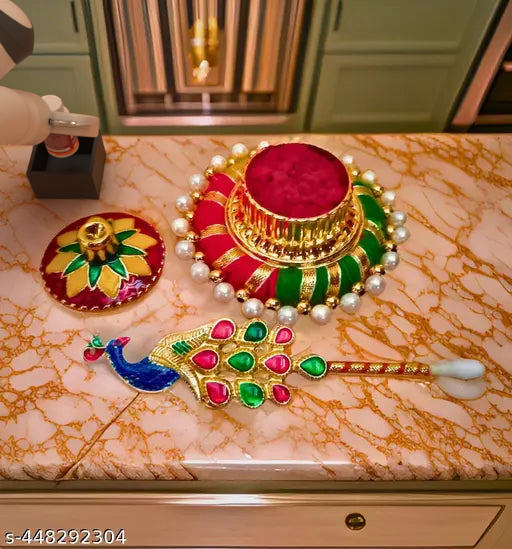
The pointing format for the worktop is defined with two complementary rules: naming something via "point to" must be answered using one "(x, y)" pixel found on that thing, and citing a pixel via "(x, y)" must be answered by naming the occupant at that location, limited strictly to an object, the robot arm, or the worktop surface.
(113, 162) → the worktop surface
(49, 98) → the pill bottle
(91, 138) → the trash bin
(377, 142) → the worktop surface
